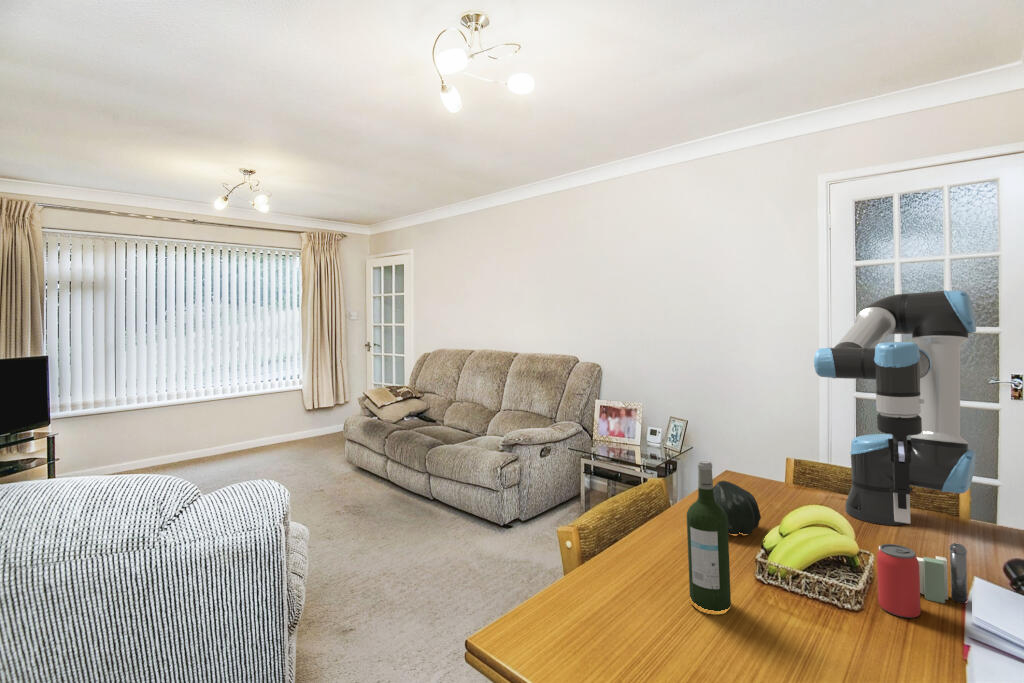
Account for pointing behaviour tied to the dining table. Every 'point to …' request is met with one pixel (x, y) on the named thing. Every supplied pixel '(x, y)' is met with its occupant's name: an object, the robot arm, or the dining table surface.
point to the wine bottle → (708, 546)
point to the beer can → (898, 581)
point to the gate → (921, 570)
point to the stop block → (934, 579)
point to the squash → (737, 507)
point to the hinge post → (958, 572)
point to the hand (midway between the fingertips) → (902, 521)
